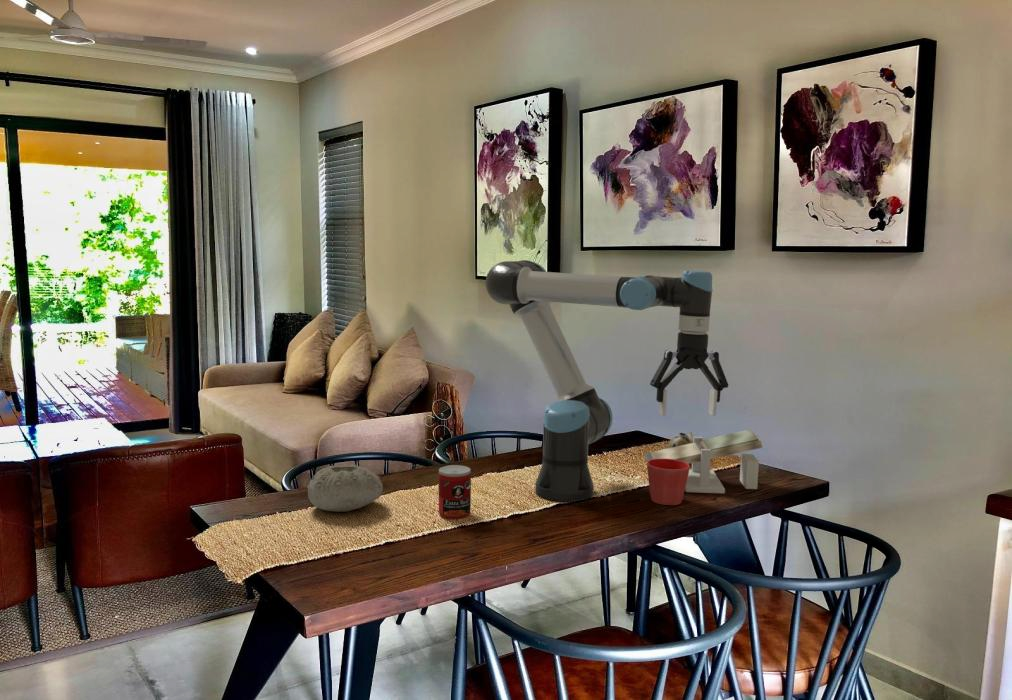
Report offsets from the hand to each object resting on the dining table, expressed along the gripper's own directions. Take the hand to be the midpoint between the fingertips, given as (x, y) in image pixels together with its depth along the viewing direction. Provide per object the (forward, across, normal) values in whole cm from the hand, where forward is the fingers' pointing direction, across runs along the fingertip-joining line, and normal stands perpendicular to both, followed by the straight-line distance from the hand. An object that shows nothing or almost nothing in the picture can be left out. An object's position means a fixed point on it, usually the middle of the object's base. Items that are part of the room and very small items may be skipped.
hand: (687, 414), depth 208 cm
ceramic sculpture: (+22, +14, +34) cm, 43 cm away
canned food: (+23, -60, -6) cm, 64 cm away
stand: (+21, +14, +9) cm, 27 cm away
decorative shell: (+24, -85, +3) cm, 89 cm away
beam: (+14, +10, +10) cm, 20 cm away
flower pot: (+22, -5, -3) cm, 23 cm away
